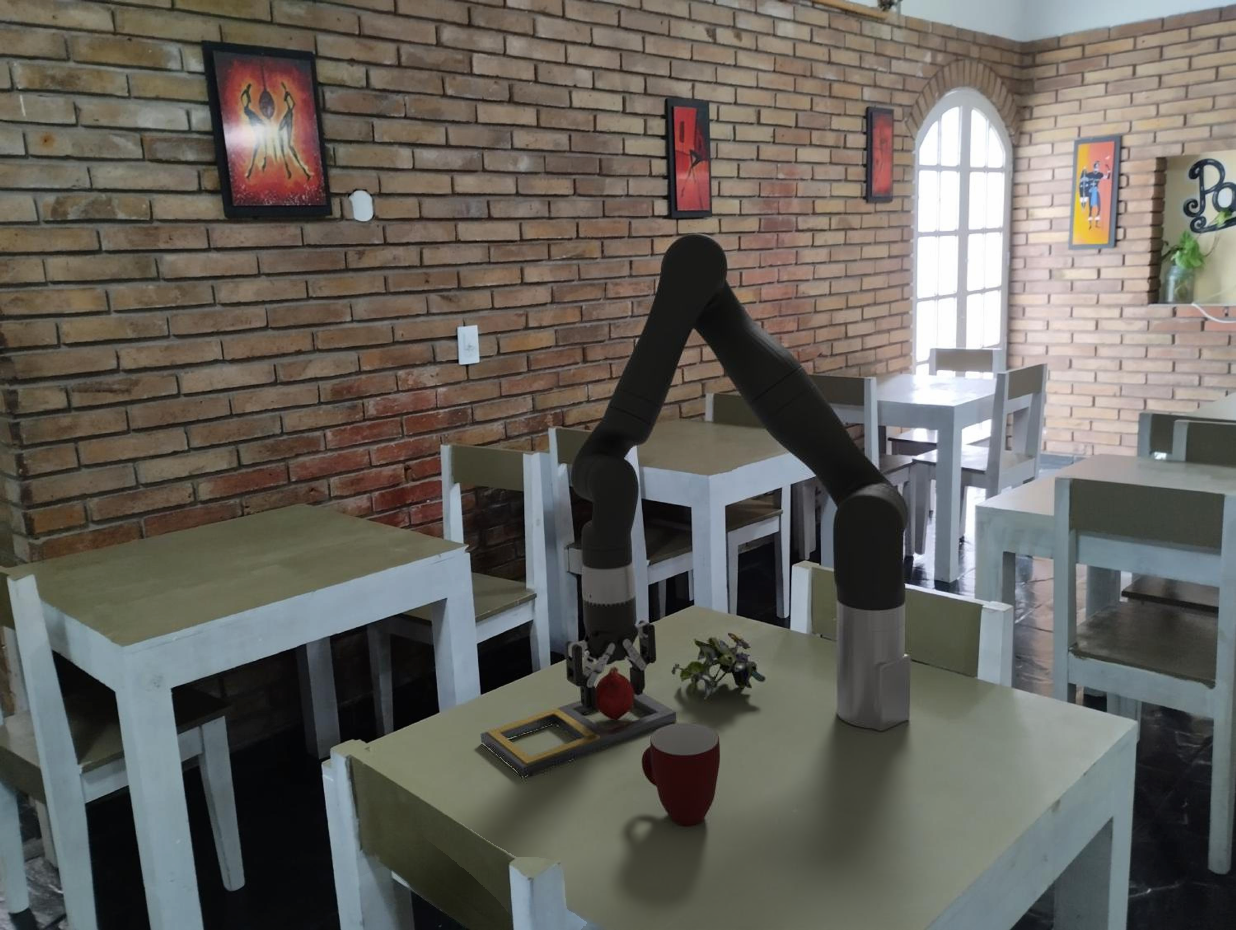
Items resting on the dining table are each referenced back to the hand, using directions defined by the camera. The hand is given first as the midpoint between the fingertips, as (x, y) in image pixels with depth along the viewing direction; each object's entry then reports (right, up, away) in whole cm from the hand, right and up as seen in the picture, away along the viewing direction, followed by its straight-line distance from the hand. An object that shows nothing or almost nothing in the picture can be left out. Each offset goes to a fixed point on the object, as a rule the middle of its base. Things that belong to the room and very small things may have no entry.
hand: (613, 700), depth 139 cm
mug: (+8, -8, -24) cm, 27 cm away
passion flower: (+16, -1, +7) cm, 18 cm away
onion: (0, -3, +1) cm, 3 cm away
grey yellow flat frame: (-5, -4, -3) cm, 7 cm away
